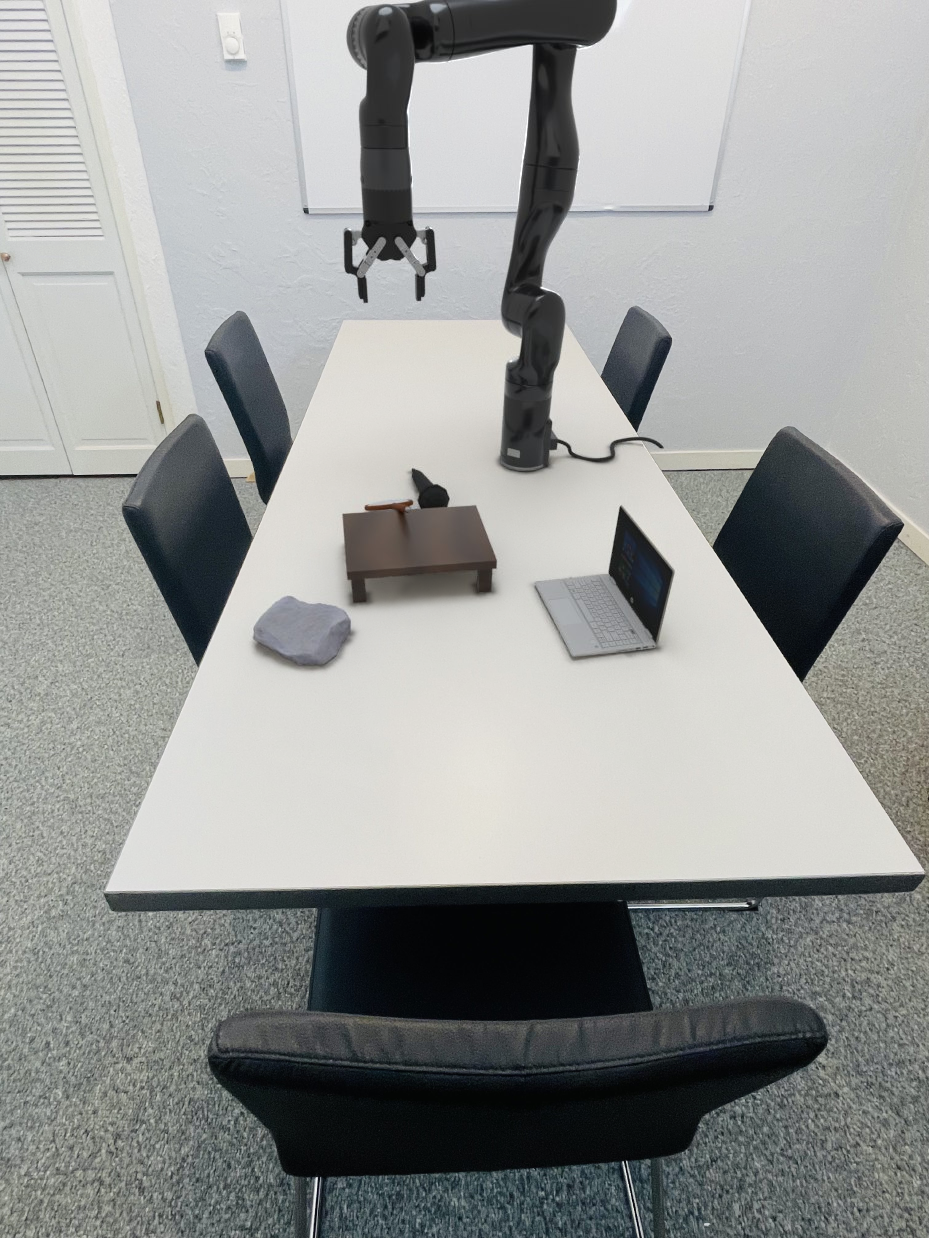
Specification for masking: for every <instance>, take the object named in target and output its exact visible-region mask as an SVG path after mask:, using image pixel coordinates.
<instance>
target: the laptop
mask: <svg viewBox="0 0 929 1238" xmlns="http://www.w3.org/2000/svg"><path fill="white" fill-rule="evenodd" d="M617 514H618V515H617V519H616V526H615V531H614V536H613V541H612V548H611V554H610V559H609V564H608V565H609V566H608V573H602V574H601V573H600V574H592V575H584V576H583V575H582V576H574V577H573V576H572V577H565V578H557V579H546V580H538V581H535V582H534V586H535V587H536V590H537V591H538V593H539V595H540V597H541V599H542V601H543V603H544V605H545V607H546V609H547V611H548V613H549V615H550V616H551V619H552V620H553V622H554V624H555V626H556V628H557V630H558V632H559V634H560V636H561V637H562V640H563V641H564V643H565V645H566V647H567V649H568V651H569V653H570V655H571V657H575V658H576V657H586V656H595V655H604V654H615V653H622V652H623V653H625V652H632V651H640V650H641V651H642V650H647V649H648V650H649V649H655V648H657V646H656V644H659V640H660V636H661V631H662V628H663V623H664V620H665V614H666V611H667V607H668V603H669V598H670V594H671V590H672V585H673V581H674V578H675V572H676V571H675V568H674V567H673V566H672V564H670V563H669V561H668V560H667V559H666V557H665V556H664V555H663V554H662V552H660V550H659V549H658V548H657V547H656V545H655V544H654V543H653V542H652V540H651V539H650V538H649V537H648V535H647V534H646V533H645V532H644V530H642V528H641V527H640V525H639V524H638V523H637V522H636V521H635V520H634V518H633V516H631V514H630V513H629V512H628V511H627V509H626V508H625V507H624V506H623V505H622V504H621V505H620V506H619V509H618V513H617Z"/></svg>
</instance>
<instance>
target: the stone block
mask: <svg viewBox="0 0 929 1238" xmlns="http://www.w3.org/2000/svg"><path fill="white" fill-rule="evenodd" d="M351 628H352V623H351V618H350V617H349V614H348V613H347V612H346V611H345V610H344V609H343V608H340V607H339V606H337V605H332V604H327V603H322V602H317V603H308V602H306V601H302V600H300V599H297V598H296V597H294V596H292V595H285V596H283V597H281V598H280V599H279V600H277V601H275V602H274V603H273V604H271V606H270V607H269V608H268V609H266V611H264V612H263V614H261V616H260V617H259V618H258V620H257V621H256V622H255V624H254V625H253V628H252V629H253V630H252V631H253V635H252V639H253V640H254V642H256V643H259V644H261V645H263V646H265V647H267V648H268V649H269V650H270V649H271V650H272V651H274V652H276V653H278V654H279V655H280V656H281V657H284V658H286V659H287V660H290V661H293V662H294V663H296V664H297V665H299V666H321V665H325V664H326V663H328V662H329V661H330V660H331V659H334V658H335V657H336V656H337V655H338V652H339V650H340V648H341V647H342V645H343V644H344V642H345V641H346V639H347V638H348V636H349V634H350V632H351Z"/></svg>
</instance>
